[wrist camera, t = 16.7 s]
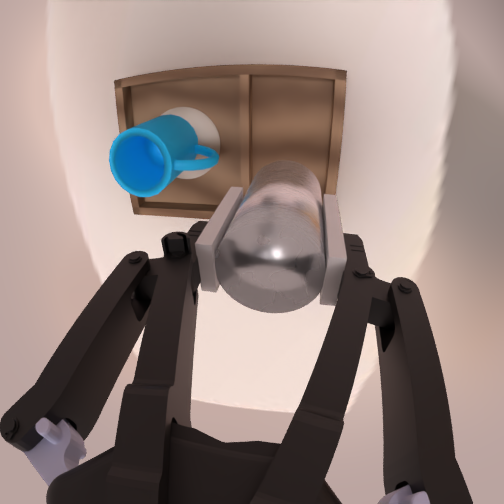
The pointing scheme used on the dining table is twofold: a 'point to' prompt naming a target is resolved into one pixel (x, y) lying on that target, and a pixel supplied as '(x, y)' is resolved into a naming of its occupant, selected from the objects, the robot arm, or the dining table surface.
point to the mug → (157, 155)
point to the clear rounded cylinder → (275, 241)
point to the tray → (239, 126)
